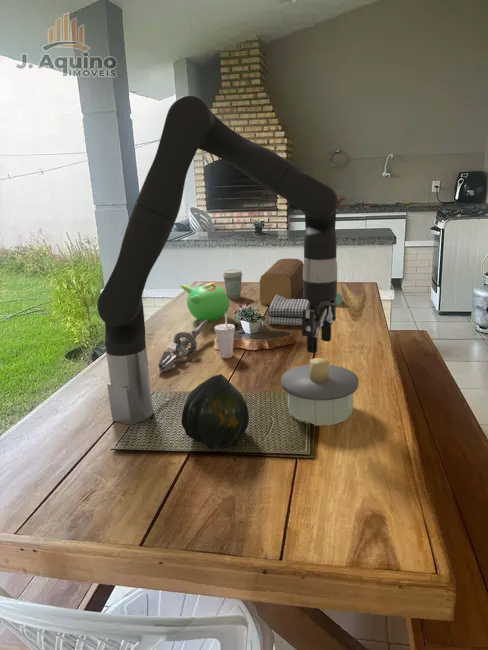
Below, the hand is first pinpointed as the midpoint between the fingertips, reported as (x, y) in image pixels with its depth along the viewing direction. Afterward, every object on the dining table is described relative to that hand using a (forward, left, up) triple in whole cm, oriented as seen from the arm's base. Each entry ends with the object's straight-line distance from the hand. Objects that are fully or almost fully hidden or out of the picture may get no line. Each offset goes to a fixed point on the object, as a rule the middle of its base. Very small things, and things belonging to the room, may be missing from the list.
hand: (319, 346), depth 118 cm
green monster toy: (+52, +67, -17) cm, 87 cm away
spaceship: (+18, +53, -17) cm, 58 cm away
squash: (-21, +16, -17) cm, 31 cm away
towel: (+65, +38, -17) cm, 77 cm away
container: (+99, +34, -17) cm, 106 cm away
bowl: (0, 0, -16) cm, 16 cm away
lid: (0, 0, -9) cm, 9 cm away
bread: (+96, +56, -17) cm, 112 cm away
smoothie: (+22, +40, -17) cm, 49 cm away
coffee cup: (+85, +75, -17) cm, 115 cm away
